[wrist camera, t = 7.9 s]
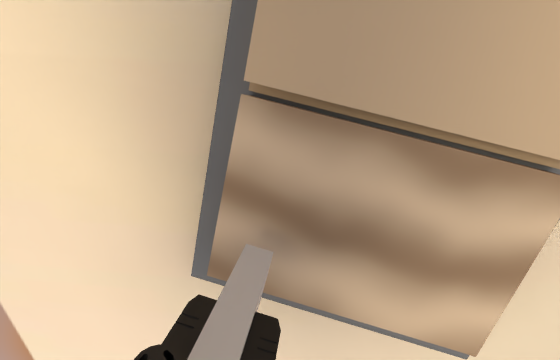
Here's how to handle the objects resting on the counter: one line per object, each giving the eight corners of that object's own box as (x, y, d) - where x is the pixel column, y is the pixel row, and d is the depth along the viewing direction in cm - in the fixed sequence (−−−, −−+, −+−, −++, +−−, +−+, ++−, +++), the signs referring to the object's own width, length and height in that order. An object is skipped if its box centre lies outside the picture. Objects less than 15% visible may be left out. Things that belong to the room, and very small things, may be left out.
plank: (249, 95, 16) (241, 93, 15) (549, 171, 15) (582, 181, 13) (217, 259, 20) (206, 275, 18) (459, 331, 19) (475, 356, 17)
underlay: (252, -89, 14) (235, -134, 12) (681, 1, 13) (780, -25, 10) (196, 268, 22) (178, 293, 20) (460, 347, 21) (481, 386, 18)
